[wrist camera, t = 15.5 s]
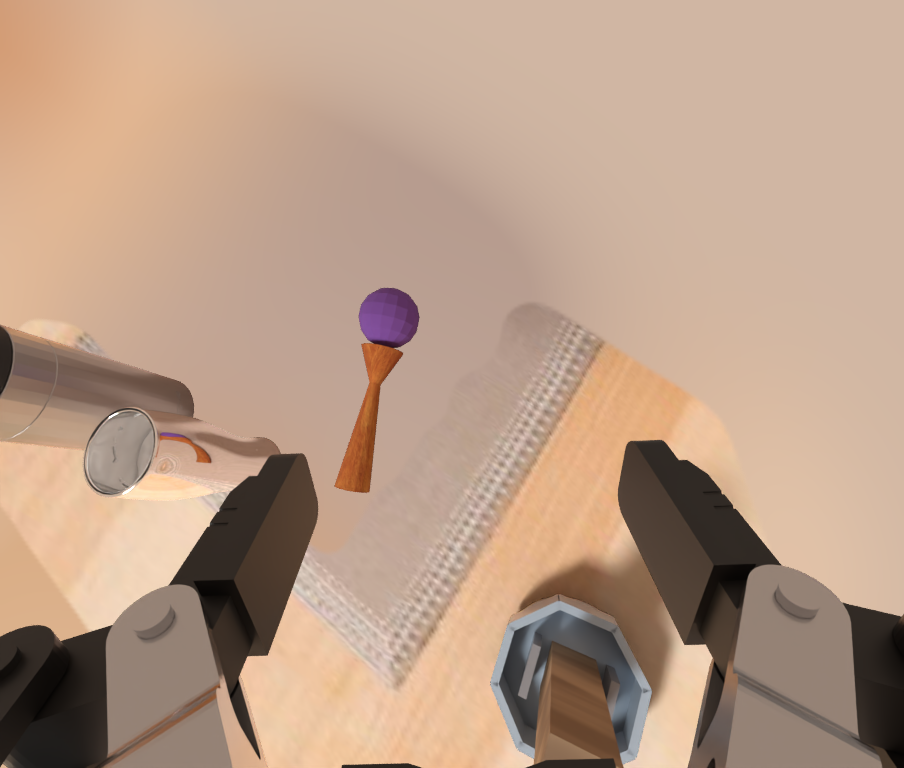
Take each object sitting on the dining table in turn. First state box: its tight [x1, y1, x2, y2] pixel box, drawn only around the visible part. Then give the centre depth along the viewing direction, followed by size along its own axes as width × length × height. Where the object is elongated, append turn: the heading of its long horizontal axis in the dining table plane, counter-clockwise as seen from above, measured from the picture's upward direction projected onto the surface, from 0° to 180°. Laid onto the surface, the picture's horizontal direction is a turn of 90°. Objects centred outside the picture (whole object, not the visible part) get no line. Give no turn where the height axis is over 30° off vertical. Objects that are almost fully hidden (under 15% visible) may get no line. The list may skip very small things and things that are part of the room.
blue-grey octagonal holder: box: [490, 594, 652, 764], centre depth 31 cm, size 10×10×4 cm
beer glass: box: [83, 407, 280, 501], centre depth 37 cm, size 7×7×15 cm
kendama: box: [335, 288, 419, 493], centre depth 41 cm, size 6×6×20 cm
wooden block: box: [534, 641, 623, 768], centre depth 26 cm, size 3×3×14 cm
